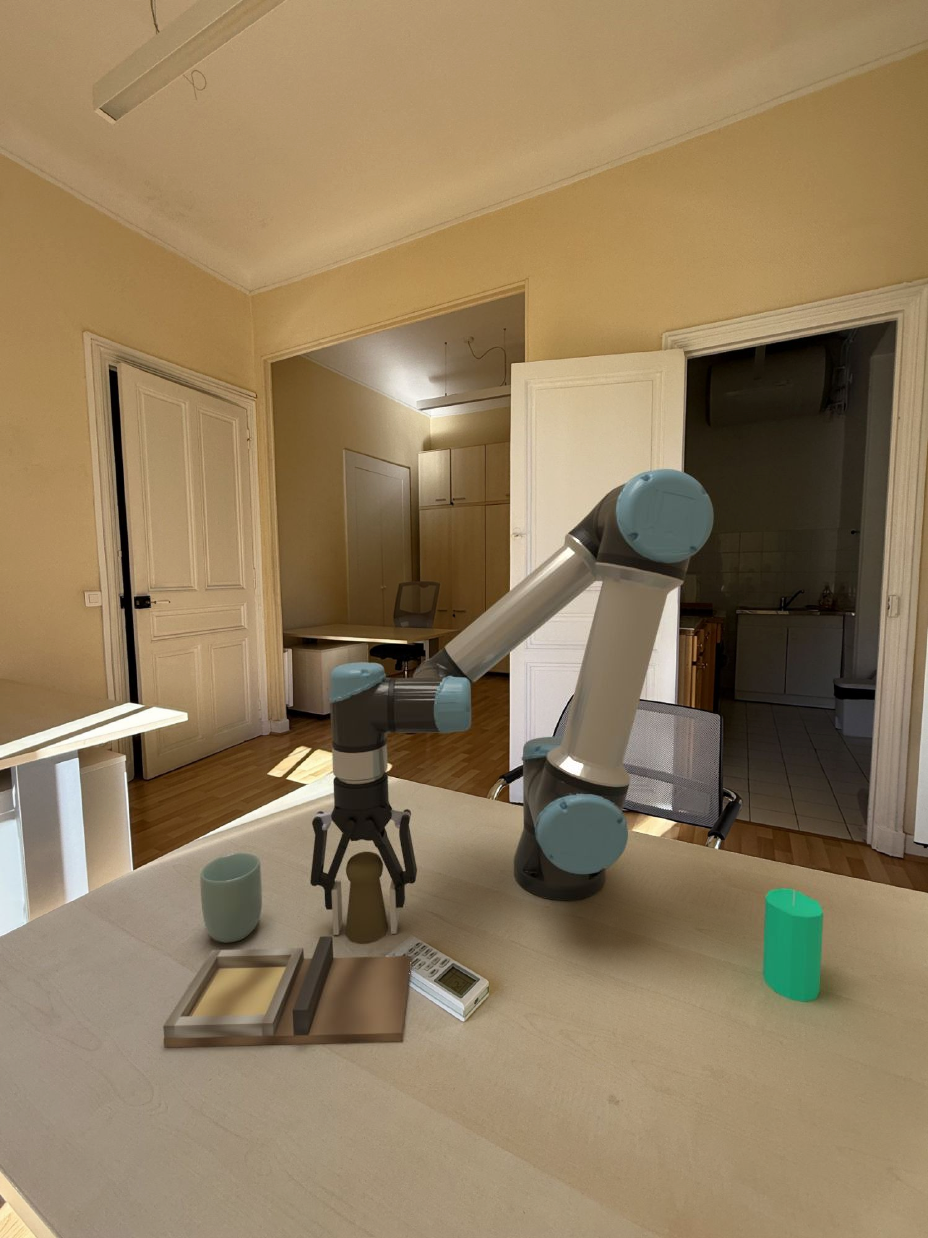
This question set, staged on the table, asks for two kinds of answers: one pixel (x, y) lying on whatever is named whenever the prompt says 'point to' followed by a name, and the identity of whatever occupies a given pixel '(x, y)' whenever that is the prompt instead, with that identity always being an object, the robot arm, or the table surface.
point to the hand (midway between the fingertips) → (366, 927)
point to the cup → (231, 896)
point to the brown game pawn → (365, 899)
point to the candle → (792, 944)
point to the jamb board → (291, 999)
